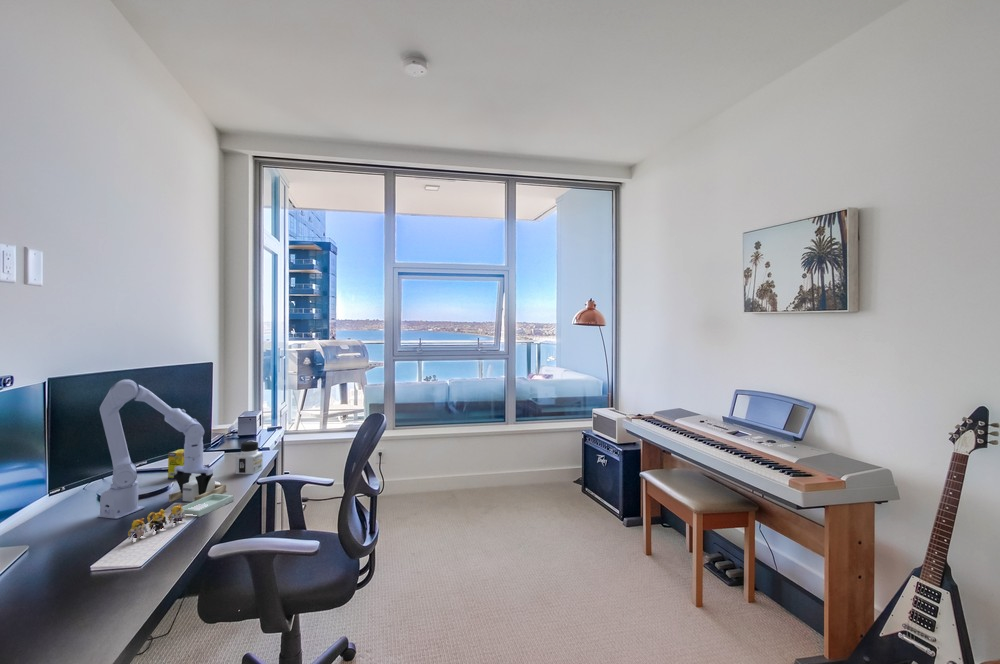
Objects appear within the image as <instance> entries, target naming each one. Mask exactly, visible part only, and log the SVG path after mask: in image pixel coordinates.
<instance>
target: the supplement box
mask: <svg viewBox="0 0 1000 664" xmlns="http://www.w3.org/2000/svg"><path fill="white" fill-rule="evenodd" d="M167 462H168V464H167V465H168V467H167V469H168V470H167V473H168V474H167V480H176V479H175V478H174V475H175V474H177V473H175V467H177V466H184V448H181V449H177V450H176V449H175V450H174V451H170V452H168V461H167ZM192 474H193V473H191V475H190V477H191V476H192Z"/></svg>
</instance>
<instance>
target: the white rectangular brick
mask: <svg viewBox="0 0 1000 664" xmlns="http://www.w3.org/2000/svg"><path fill="white" fill-rule="evenodd" d="M215 484H216V476H215V475H213V476H212V477H211V479H210V481H209V483H208V486H207V489H206V492H208V491H211V490H213V489H215ZM182 490H183V497H182V502H190V503H192V502H194V497H196V496H199V492H198V483H197V480H196V479H193V480H192V481H191V480H190V481H189V482H188V483H185V484H183V488H182ZM206 492H205V493H206Z"/></svg>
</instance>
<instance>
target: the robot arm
mask: <svg viewBox="0 0 1000 664" xmlns="http://www.w3.org/2000/svg"><path fill="white" fill-rule="evenodd" d="M107 392H108V393H106V396H105V398H104V399H103V400H102V402H101V404H100V406H99V414H100V417H101V421H102V425H103V430H104V433H105V437H106V441H107V446H108V450H109V453H110V458H111V462H112V469H113V471H112V480H111V481H112V484H110V487H109V489H108V490H105V491H103V492H102V493H101V495H100V497H99V499H100V501H99V514H98V515H97V518H98V517H99V518H107V519H120V518H122V517H125V516H128V515H131V514H133V513H135V512H139V511H141V510H144V509H145V508H146V506H145V505H143V506H142V505H139V480H137V478H138V473H137V467H136V466H137V465H135V464H134V463H133V462H132V460H131V457H130V452H129V450H128V444H127V441H126V436H125V432H124V429H123V425H122V419H121V415H120V412H119V411H120V409H121V408H122V407H124V405H125V404H127V403H128V402H130V401H131V400H133V399H134V401H135V402H143V403H146V404H147V405H149V406H150V407H152V408H153V409H155V410H156V411H157V412H159V413H161V414H162V415H163V416H164V422H166V423H167V424H169V425H170V426H171V427H172V428H174V429H175V430H176V431H178V432H180V433H183V435H184V436H185V437H184V444H183V449H184V466H177V467H175V473H177V474H175V475H174V478H175V479H174V480H175V481H176V482H177V484H178V487H179V491H180V490H181V493H183V490H182V488H183V484H185V483H188V482H190V478H191V476H192V474H195V475H196V476H195V480H197V483H198V492H199V495H201V494H204V493H205V492H206V489H207V486H208V483H209V481H210V479H211V477H212V476H214V472H213V471H214V470H213V469H214V468H212V467H207V466H205V464H204V441H203V440H204V435H205V431H206V430H205V429H204V427H203V425H202V424H201V423H200V422H199V421H198V420H197V419H196V418H193V417H191V416H190V415H189V414H188V413H186V412H187V411H186V410H185V409H184V408H182V409H181V408H179V407H177V408H175V407H174V408H172V407H171V406H170V405H168V403H166V402H164V400H162V399H161V398H159V397H158V396H157V395H156V394H155V393H153V391H151V390H149V389H148V388H146V387H144V386H143V385H141V384H137V383H136V382H135V381H134V380H132V379H128V378H124V379H120V380H119V381H117V382H116V383H115V384H114V385H113V386H111V387H110V389H109V390H108V391H107ZM191 473H192V474H191ZM190 475H191V476H190Z"/></svg>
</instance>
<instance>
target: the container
mask: <svg viewBox="0 0 1000 664" xmlns="http://www.w3.org/2000/svg"><path fill="white" fill-rule="evenodd" d="M263 458H264V453H263V451H259V442H258V441H256V440H247V441H243V442H241V443H240V454H237V455H236V456H235V475H254V474H256V473H258V472H260V471H261V470H263V468H264V467H263V465H264V463H263Z"/></svg>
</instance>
